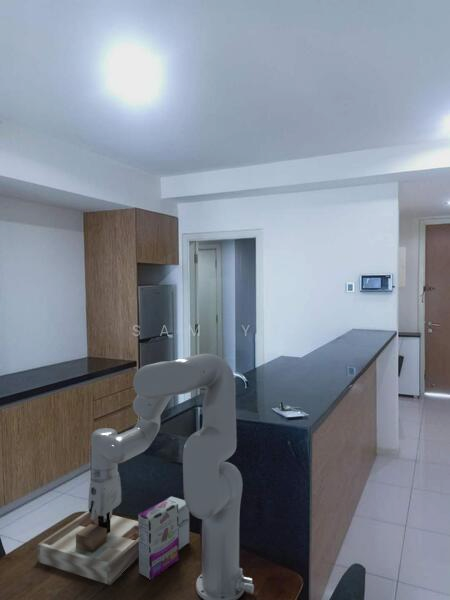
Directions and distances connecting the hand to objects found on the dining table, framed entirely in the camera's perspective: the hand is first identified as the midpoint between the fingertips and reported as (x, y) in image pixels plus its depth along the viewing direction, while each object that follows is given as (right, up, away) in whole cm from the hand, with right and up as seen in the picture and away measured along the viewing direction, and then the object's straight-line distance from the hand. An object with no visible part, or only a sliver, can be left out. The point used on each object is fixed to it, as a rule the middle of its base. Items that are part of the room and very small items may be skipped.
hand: (104, 532), depth 133 cm
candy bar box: (+18, -5, -10) cm, 21 cm away
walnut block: (-2, -1, -5) cm, 5 cm away
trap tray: (0, -4, -1) cm, 4 cm away
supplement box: (+20, -4, +1) cm, 21 cm away
